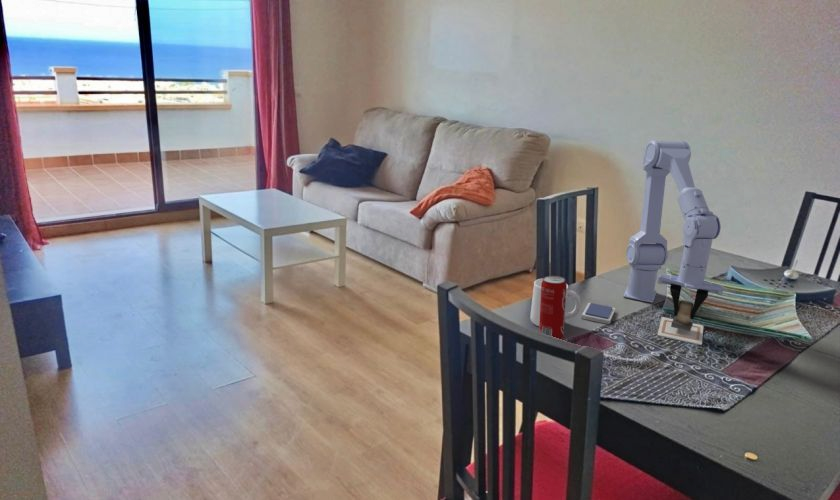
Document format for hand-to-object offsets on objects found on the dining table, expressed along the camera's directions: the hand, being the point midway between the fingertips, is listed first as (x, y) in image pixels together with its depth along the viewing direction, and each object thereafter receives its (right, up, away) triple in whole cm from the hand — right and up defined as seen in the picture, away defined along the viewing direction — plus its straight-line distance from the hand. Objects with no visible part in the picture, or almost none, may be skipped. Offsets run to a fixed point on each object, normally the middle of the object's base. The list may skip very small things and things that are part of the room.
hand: (683, 315), depth 150 cm
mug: (-32, -2, +3) cm, 32 cm away
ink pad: (-19, -1, +8) cm, 20 cm away
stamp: (0, -3, +1) cm, 3 cm away
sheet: (0, -4, +1) cm, 4 cm away
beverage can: (-35, -5, -6) cm, 35 cm away
